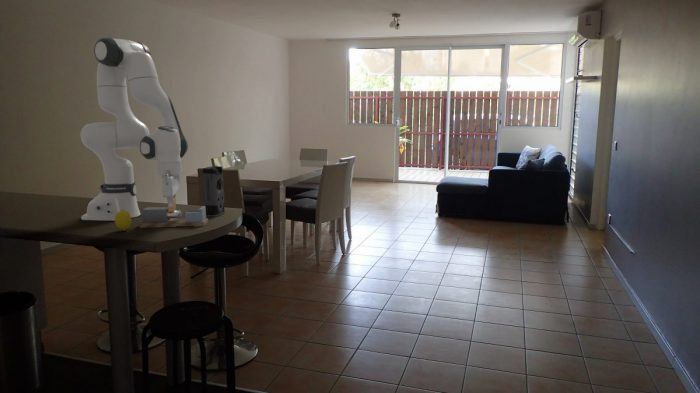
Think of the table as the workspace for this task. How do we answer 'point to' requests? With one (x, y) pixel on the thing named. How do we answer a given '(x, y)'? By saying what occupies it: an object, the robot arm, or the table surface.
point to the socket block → (196, 215)
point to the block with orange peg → (173, 211)
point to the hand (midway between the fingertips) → (172, 205)
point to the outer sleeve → (155, 214)
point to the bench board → (173, 223)
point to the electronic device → (213, 190)
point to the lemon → (123, 220)
